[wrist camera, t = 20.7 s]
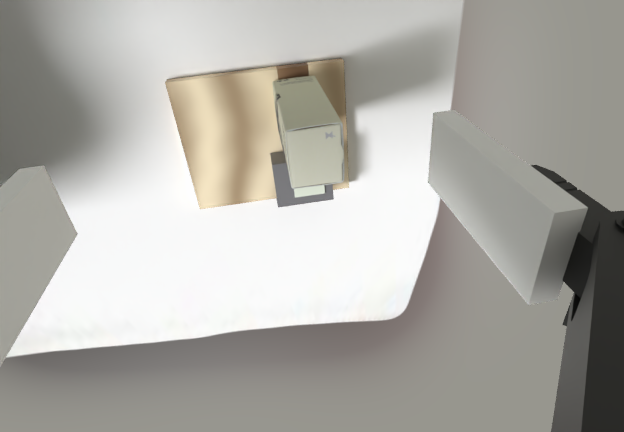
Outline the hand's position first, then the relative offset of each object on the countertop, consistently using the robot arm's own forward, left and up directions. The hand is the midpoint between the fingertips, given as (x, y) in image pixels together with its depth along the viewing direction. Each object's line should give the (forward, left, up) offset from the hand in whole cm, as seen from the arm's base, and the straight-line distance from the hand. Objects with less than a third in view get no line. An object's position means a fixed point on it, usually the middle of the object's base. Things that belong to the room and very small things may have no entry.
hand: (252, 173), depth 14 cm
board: (0, -10, -29) cm, 30 cm away
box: (+4, -7, -28) cm, 29 cm away
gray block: (+4, -14, -28) cm, 31 cm away
